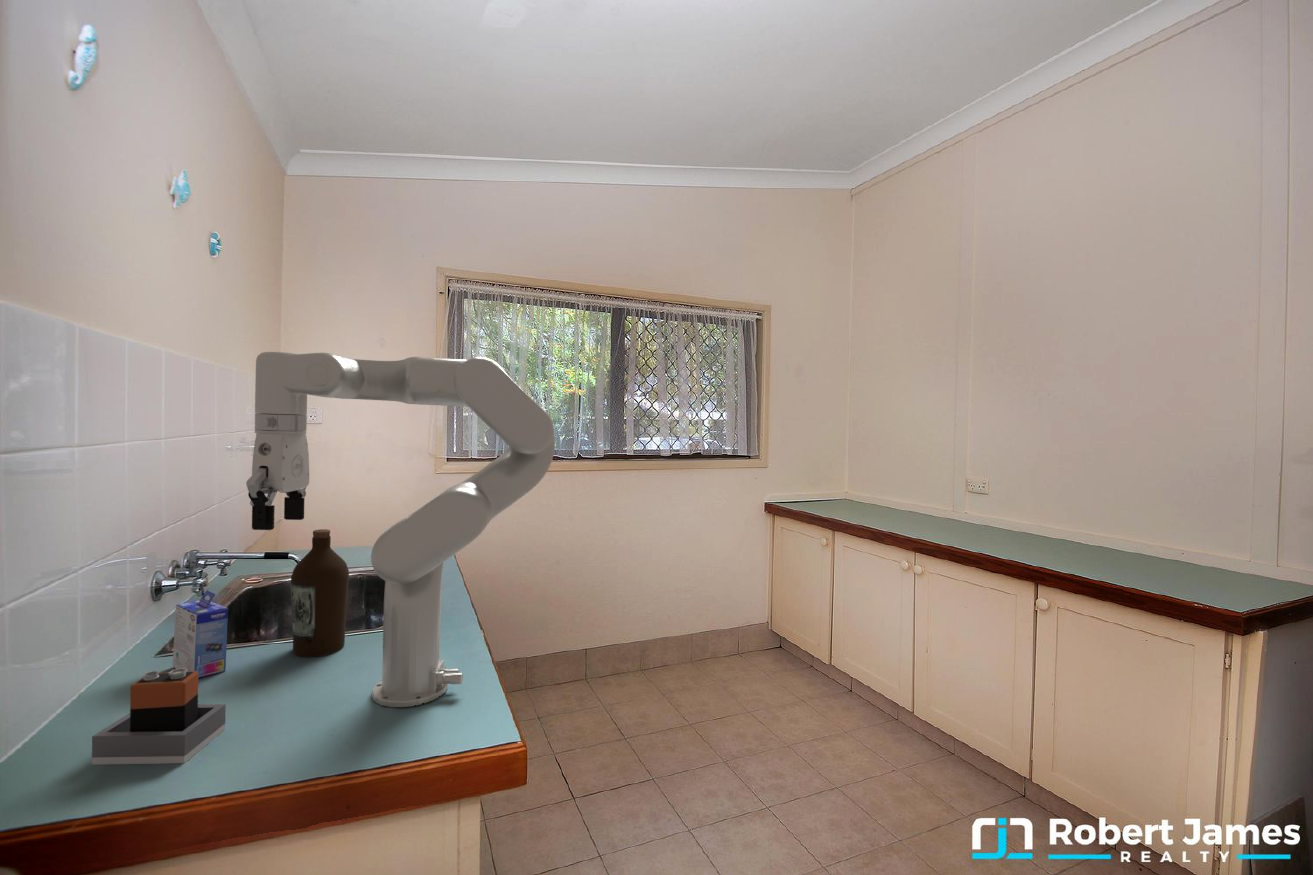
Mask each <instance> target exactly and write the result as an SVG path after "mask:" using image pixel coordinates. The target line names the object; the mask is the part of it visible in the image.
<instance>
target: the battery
mask: <svg viewBox="0 0 1313 875" xmlns="http://www.w3.org/2000/svg"><path fill="white" fill-rule="evenodd" d="M143 675H144V676H143V677H142V678H139V680H137V681H136V682H134V683H133V684H132V685H131V686H130V690H129V691H130V693H129V694H130V702H129V703H130V705H129V708H130V709H129V713H130V732H182V731H184V730H185V729H186V728H188V727H189V726H190V725H192V724H193V723H194V722H196V721H197V720H198V704H199V678H198V672H197V671H188V669H185V668H179V669H176V668H175V669H174V668H173V669H172V670H171V671H168V672H159V671H157V670H152V671H148V672H146V673H144V674H143Z"/></svg>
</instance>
